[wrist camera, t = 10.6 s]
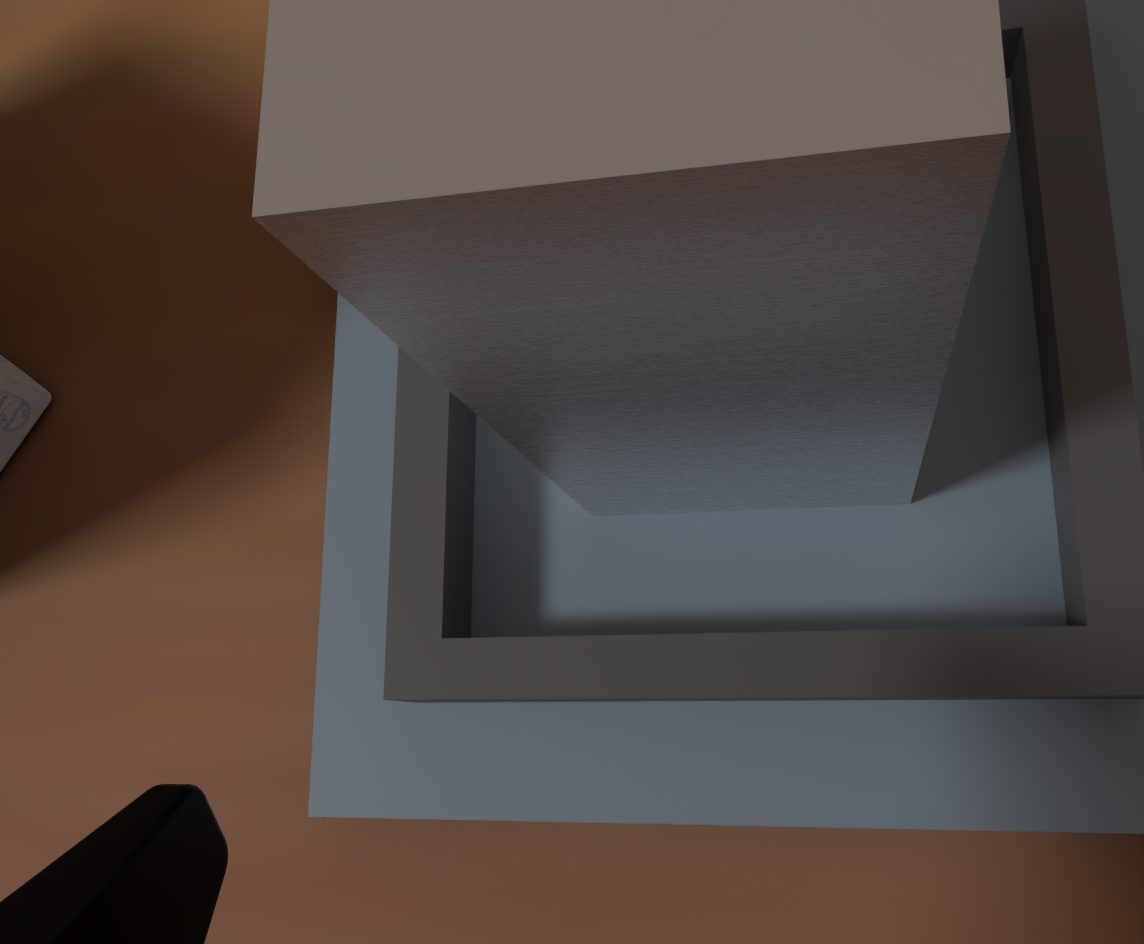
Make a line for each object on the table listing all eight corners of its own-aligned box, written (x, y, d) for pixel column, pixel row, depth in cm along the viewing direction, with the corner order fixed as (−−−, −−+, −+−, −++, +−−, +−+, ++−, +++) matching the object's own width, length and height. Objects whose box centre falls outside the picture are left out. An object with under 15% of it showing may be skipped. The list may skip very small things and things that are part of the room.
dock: (1278, 831, 17) (1354, 847, 15) (337, 812, 21) (266, 822, 18) (1154, -47, 21) (1196, -156, 18) (375, 68, 25) (320, -10, 22)
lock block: (910, 504, 19) (1011, 132, 7) (592, 516, 20) (251, 216, 8) (891, 205, 20) (951, -509, 8) (593, 235, 21) (299, -352, 10)
